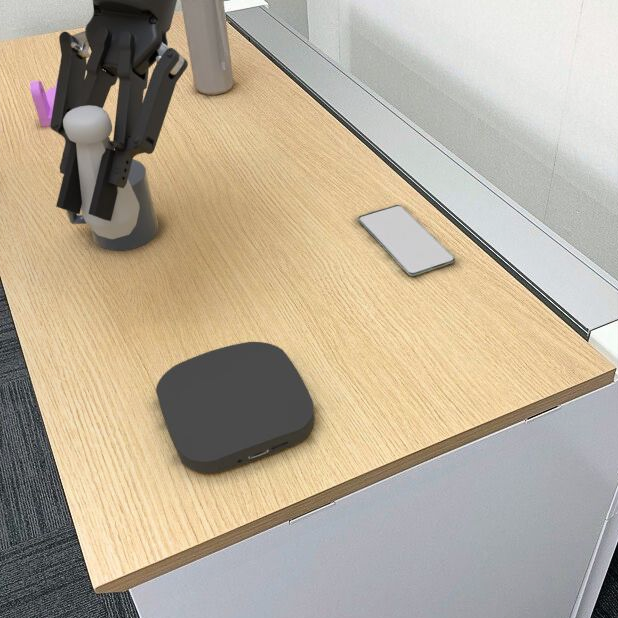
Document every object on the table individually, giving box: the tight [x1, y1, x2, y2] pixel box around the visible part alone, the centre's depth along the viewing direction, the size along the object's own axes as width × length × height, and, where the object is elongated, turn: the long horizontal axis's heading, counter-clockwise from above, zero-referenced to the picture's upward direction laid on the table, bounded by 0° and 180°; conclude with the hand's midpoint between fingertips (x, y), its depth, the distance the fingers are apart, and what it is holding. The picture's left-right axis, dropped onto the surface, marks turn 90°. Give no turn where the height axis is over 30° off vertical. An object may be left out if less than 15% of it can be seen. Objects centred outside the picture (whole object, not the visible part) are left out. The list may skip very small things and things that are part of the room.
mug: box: [65, 158, 160, 251], centre depth 100 cm, size 12×9×9 cm
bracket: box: [29, 78, 58, 128], centre depth 128 cm, size 13×6×7 cm, turn 11°
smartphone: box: [358, 204, 456, 277], centre depth 100 cm, size 7×1×15 cm
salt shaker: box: [63, 105, 140, 239], centre depth 73 cm, size 6×6×13 cm
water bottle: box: [180, 0, 235, 96], centre depth 126 cm, size 9×8×25 cm
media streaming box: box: [155, 341, 315, 474], centre depth 77 cm, size 15×15×3 cm
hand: (83, 213), depth 72 cm, fingers closed on salt shaker, 3 cm apart
